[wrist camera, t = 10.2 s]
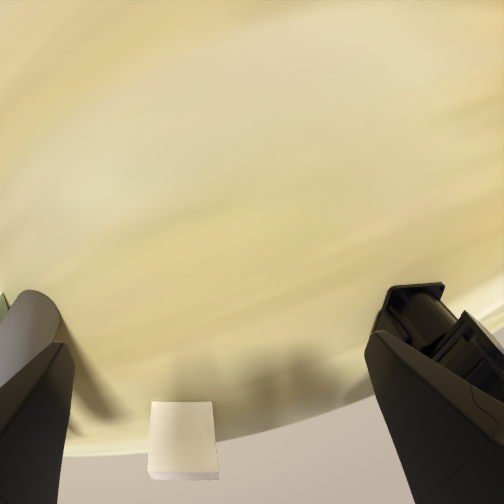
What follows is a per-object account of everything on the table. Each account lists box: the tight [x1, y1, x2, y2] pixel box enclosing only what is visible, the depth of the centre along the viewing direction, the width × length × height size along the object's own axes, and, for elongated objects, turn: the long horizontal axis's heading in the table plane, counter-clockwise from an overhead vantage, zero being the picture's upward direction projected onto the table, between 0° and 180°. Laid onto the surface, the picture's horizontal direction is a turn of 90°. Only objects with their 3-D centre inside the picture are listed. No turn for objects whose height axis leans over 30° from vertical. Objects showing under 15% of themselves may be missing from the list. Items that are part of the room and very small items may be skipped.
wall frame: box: [148, 401, 219, 480], centre depth 24 cm, size 26×2×8 cm, turn 86°
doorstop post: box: [0, 290, 61, 387], centre depth 16 cm, size 4×4×13 cm
